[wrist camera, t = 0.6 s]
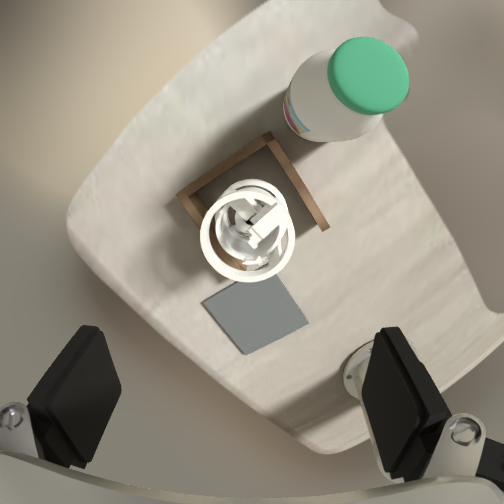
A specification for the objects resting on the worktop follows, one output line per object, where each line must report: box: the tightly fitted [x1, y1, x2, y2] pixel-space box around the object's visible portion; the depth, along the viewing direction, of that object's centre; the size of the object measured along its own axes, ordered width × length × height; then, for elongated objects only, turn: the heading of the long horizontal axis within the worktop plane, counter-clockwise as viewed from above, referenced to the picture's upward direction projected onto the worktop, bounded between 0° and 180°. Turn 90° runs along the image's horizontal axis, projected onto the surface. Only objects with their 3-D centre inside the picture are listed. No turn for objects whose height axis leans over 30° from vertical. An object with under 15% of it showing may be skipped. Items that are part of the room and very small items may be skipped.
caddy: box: [175, 131, 330, 282], centre depth 35 cm, size 12×12×4 cm
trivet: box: [203, 263, 309, 355], centre depth 41 cm, size 10×10×1 cm
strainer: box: [200, 179, 295, 282], centre depth 29 cm, size 7×7×15 cm
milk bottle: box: [283, 37, 409, 142], centre depth 23 cm, size 8×8×20 cm
